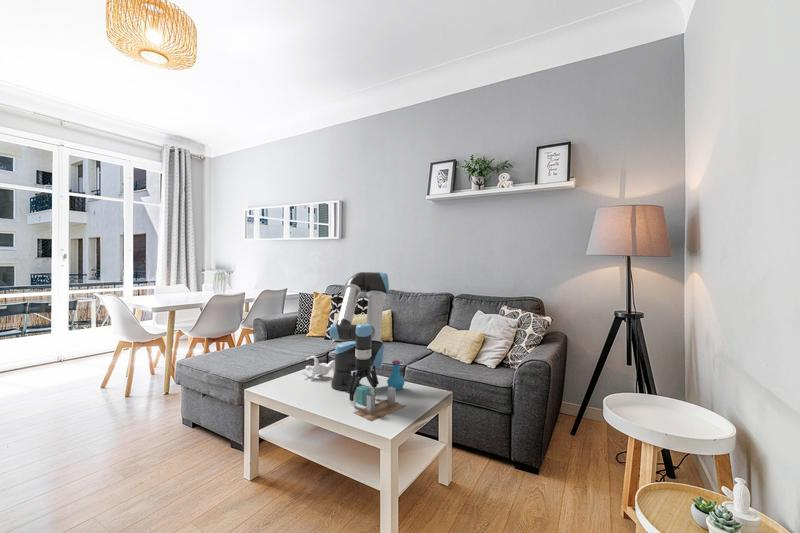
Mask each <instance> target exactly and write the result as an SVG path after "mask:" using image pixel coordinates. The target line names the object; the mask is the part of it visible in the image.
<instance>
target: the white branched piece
mask: <svg viewBox="0 0 800 533" xmlns="http://www.w3.org/2000/svg"><path fill="white" fill-rule="evenodd" d="M310 359H311V360H312V359H313V360H314V362H313V363H314V365H313V366H312V365H306V366H305V370H306V371H312V372H311V374H307V373H306V372H304V371H303V372H302V373H301V374H302V375H304V376H306V378H309V379H311V378H314V377H315V376H316V375H317V376H318V375H319V376H325V375H327V376H328V374H329V372H330V371H331V370H332V372H333V374H334V373H335V359H334V360H331V361H329V362H328V364H327V365H326V364H324V363H320V362H319V358H317V356H316V355H311V356H310V357H306V359H305V360H306V361H309V360H310Z"/></svg>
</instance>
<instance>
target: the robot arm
mask: <svg viewBox="0 0 800 533" xmlns="http://www.w3.org/2000/svg"><path fill="white" fill-rule="evenodd" d="M389 282H390V281H389V276H388V274H387V273H386V272H380V271H379V272H375V271H370V272H366V271H361V272H356V273H355V274H353V275H352V276H351V277H350V278H349V279H348V280H347V281H346V282H345V285H344V288H343V289H344V290H343V291H344V295H343V299H342V301H341V306H340V309H339V313H338V317H337V319H336V320H337V321H336V323H332V324H330V328H329V336H330V338H331V339H332V340H342V341H343V340H345V341H343V342H340V343H337V344H336V345H335V350H334V360H335V373H334V372H333V376H332V380H331V382H330V386H331V388H332V389H333V390H336V391H345V393H347V394H349V401H350V404H349V405H350V406H352V407H356V404H357V403H356V394H355V391H356V388H357V387H360V386H361V382H360V381H362V379H363V378H366V380H367V381H368V382H369V383H368V384H370V386H368V387H369V388H371V394H373V395H375V393H376V388H378V385H379V384H380V383H379V380H378V379H379V378H378V375H377V372H376V368H378V369H379V368H382V367H383V364H384V362H385V356H386V348H387V347H386V345H384V341H382V336H381V335H382V324H383V308H384V298H386V297H387V294H388V293H390V283H389ZM361 293H365V295H366V296H367V297H368V299H367V309H366V310H367V311H366V323H358V324H352V323H353V319H354V315H355V311H356V307H357V302H358V298H359V296H360V295H361ZM346 340H347V341H346ZM349 340H350V341H349Z"/></svg>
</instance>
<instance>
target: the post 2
mask: <svg viewBox="0 0 800 533" xmlns="http://www.w3.org/2000/svg"><path fill="white" fill-rule="evenodd" d="M396 391H397V390H396V388H394V387H392V386H391V387H389V386H388V387H387V395H386V396H387V398H386V400H387V405H389V406H391V407H392V406H394V405H395V402H396Z"/></svg>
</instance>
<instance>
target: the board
mask: <svg viewBox="0 0 800 533" xmlns="http://www.w3.org/2000/svg"><path fill="white" fill-rule="evenodd" d="M406 407H407V405H405V404H402V403H399V402H396V401H395V405H394V406H392V407H391V406H389V405H387V399H385V400H382V401H379V402H378V403H375V414H372V415H369V414H367V413H366V409H367V406H365V408H362V409H359V410H357V411H354V412H353V414H355V415H357V416H359V417H361V418H363V419H366V420H367V421H370V422H374V421H376V420H378V419H381V418H383V417H385V416H388V415H390V414H392V413H394V412H397V411H399V410H401V409H404V408H406Z"/></svg>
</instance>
